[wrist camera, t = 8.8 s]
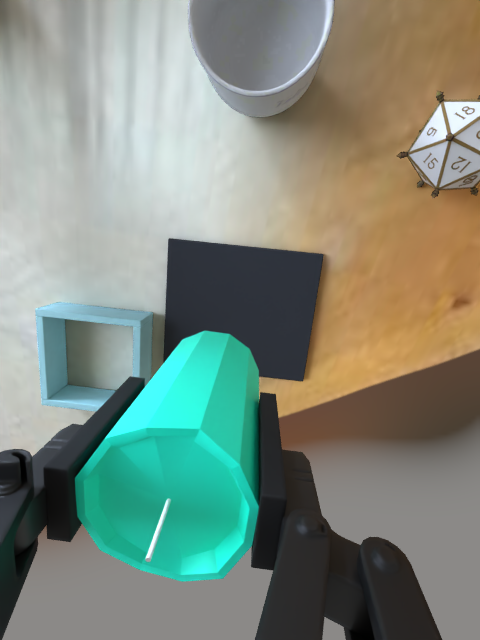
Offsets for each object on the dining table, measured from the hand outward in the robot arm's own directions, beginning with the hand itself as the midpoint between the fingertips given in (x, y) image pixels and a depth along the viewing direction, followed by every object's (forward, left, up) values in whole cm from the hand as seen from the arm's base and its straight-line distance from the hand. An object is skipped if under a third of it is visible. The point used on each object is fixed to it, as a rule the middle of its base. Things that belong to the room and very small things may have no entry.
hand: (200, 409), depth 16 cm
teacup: (+1, +26, -22) cm, 34 cm away
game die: (+19, +18, -22) cm, 34 cm away
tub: (-15, -7, -22) cm, 27 cm away
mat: (+1, 0, -22) cm, 22 cm away
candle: (0, 0, -5) cm, 5 cm away
